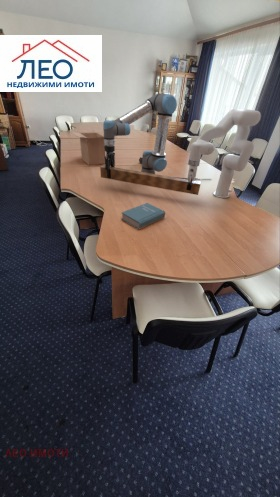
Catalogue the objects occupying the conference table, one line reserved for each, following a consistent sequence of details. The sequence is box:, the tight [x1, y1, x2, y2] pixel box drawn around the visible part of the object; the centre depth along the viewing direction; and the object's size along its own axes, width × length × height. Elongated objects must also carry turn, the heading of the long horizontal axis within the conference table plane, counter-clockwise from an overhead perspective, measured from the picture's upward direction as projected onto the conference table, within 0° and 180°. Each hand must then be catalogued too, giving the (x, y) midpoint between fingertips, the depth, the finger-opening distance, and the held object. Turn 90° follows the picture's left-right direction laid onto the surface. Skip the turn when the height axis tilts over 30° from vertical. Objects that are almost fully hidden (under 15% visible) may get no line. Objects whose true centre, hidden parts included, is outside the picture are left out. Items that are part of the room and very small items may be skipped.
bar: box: [99, 165, 202, 196], centre depth 165 cm, size 76×5×8 cm, turn 72°
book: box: [121, 202, 166, 230], centre depth 139 cm, size 23×16×5 cm
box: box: [70, 129, 106, 166], centre depth 229 cm, size 44×36×27 cm
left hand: (110, 177), depth 173 cm, fingers closed on bar, 5 cm apart
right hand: (189, 188), depth 159 cm, fingers closed on bar, 5 cm apart
